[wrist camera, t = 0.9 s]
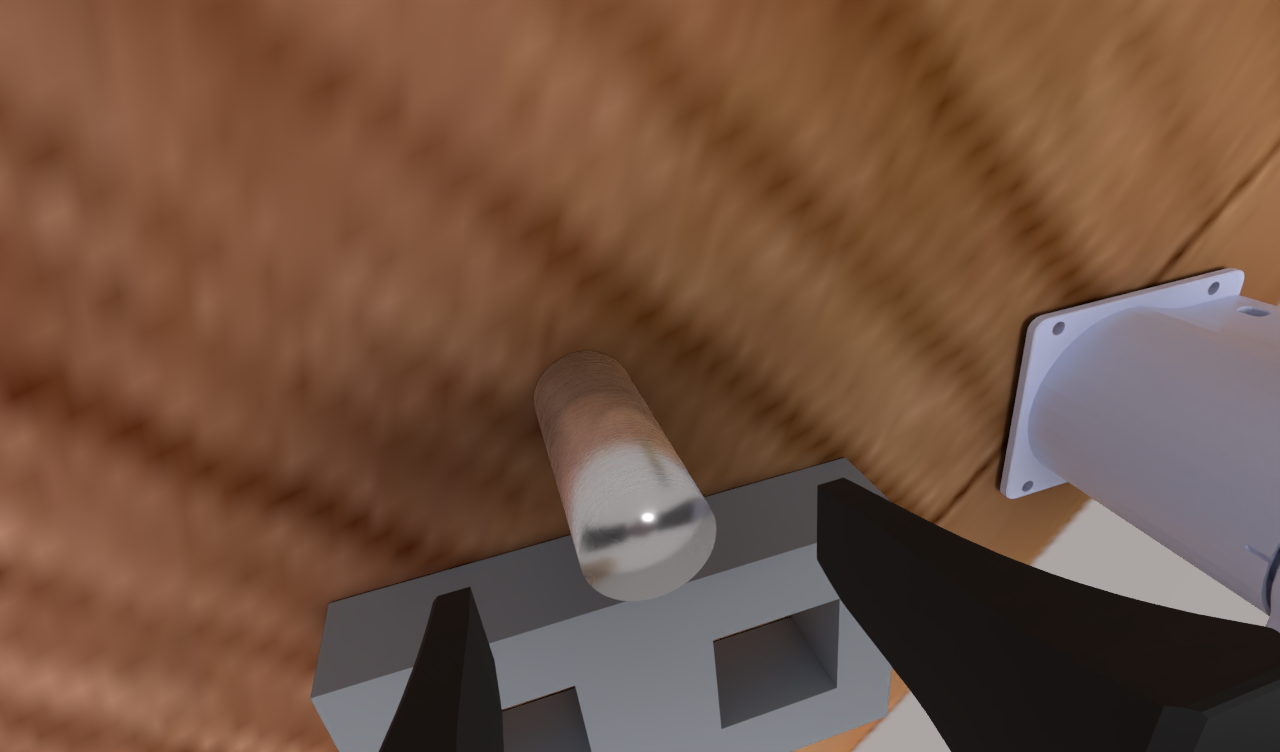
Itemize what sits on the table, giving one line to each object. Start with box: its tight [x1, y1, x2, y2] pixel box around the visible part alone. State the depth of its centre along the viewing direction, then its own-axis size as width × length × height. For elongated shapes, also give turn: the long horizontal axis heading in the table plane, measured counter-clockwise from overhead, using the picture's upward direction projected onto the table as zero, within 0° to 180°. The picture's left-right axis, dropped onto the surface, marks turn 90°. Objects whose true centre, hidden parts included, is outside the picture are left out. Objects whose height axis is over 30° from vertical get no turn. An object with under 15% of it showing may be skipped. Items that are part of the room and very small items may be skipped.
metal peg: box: [534, 351, 716, 601], centre depth 17 cm, size 3×3×7 cm
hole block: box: [310, 458, 892, 752], centre depth 23 cm, size 18×10×4 cm, turn 96°
